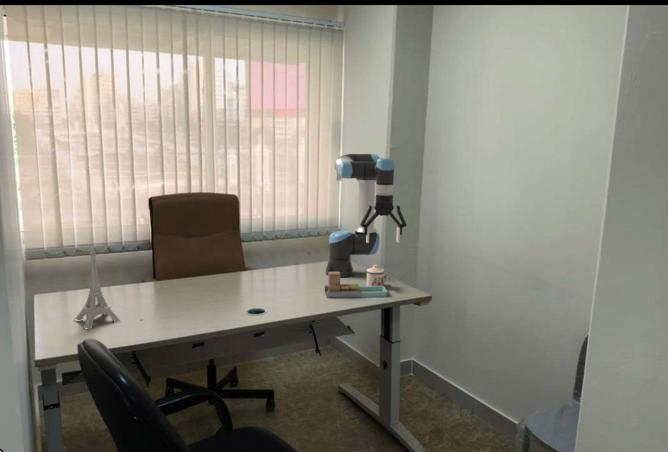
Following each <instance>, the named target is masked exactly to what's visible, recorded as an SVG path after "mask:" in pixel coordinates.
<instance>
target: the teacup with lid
mask: <svg viewBox="0 0 668 452" xmlns="http://www.w3.org/2000/svg"><path fill="white" fill-rule="evenodd" d="M385 271H386V270H385V269H384V268H381V267H379V266H378V264H374V265H373V266H371V267H370V268H367V269H366V283H365V284H366V285H365V286H384V287H385V283H386V282H387V281H388V280H389V274H388V273H387V272H385ZM385 275H386V276H385Z"/></svg>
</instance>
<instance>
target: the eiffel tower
mask: <svg viewBox="0 0 668 452" xmlns="http://www.w3.org/2000/svg"><path fill="white" fill-rule="evenodd" d="M96 253H97V252H96V250H95V247H93V246H91V247H90V250H89V257H90V283H89V291H88V297H87V300H86V303H85V304H84V305H82V309H81V311H80V312H79V313H78V314H77V316H76V317H75V318H74V320H75V319H77V320H81V319H83V320H84V317H85V316H86V317H85V323H84V326H83V327H85V328H91V327H93V322H94V320H95V318H96V317H97V316H99V315H102V314H104V315H106V314H107V315H106V316H109V317H110V319H111V322H112V321H114V322H116V323H118V322H117V321H120V320H121V319H120V318H119V317H118V316H117V315H116V314H115V313H114V311H113V310H112V307H111V305H109V304H108V303H107V301H106V300H105V298H104V295H103V293H104V291H102V288H101V285H100V280H99V274H98V269H97V268H98V267H97V261H96V259H97V258H96V257H97V254H96ZM104 315H103V316H104ZM114 322H113V323H114Z"/></svg>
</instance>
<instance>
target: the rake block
mask: <svg viewBox="0 0 668 452" xmlns="http://www.w3.org/2000/svg"><path fill="white" fill-rule="evenodd" d="M327 281H328V291H340V284H341V277H340V272H329V276H328V280H327Z"/></svg>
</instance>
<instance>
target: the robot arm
mask: <svg viewBox="0 0 668 452" xmlns="http://www.w3.org/2000/svg"><path fill="white" fill-rule="evenodd" d="M334 168H335V171H336V172H337V173H338V174H339V177H340V178H341V179H355V180H356V181H357V182H358V210H357V211H358V212H357V214H358V216H357V228H355V230H354V233H352V231H351V230H349V229H347V230H345V229H344V230H337V231H334V232H332V233H330V234H329V240H328V243H329V246H328V248H329V249H328V262H327V265H326V268H325V275H326V276H328V277H329V272H340V278H347V277H348V278H349V277H352V276H353V275H354V268H353V264H352V260H351V256H372V255H376V254H377V253H378V251H379V246H380V234H379V233H378V232H377V229H376V228H375V220H376V218H378V217H379V216H381V217H382V216H385V217H388V216H390V218H391V219H392V220H393V221H394V222H395V224H396V225H397V227H396V237H395V238H396V239H395V241H396V243H398V244H400V238H401V237H400V236H402V234H403V228H405V227H407V223H406V221H405V219H404V216H403V214H402V211H401V206H400V205H399V204H396V205H394V195H393V194H394V180H395V179H394V178H395V159H394V158H390V157H389V158H386V157H381V158H380V156H379V155H378V154H375V153H374V154H373V153H347V154H343V155H340V156H338V158H337V159H336V160H335V162H334ZM393 211H396V213H397V215H398V217H399V219H398V218H397V217H396V216H395V215H394V214H393ZM399 220H400V221H399Z"/></svg>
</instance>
